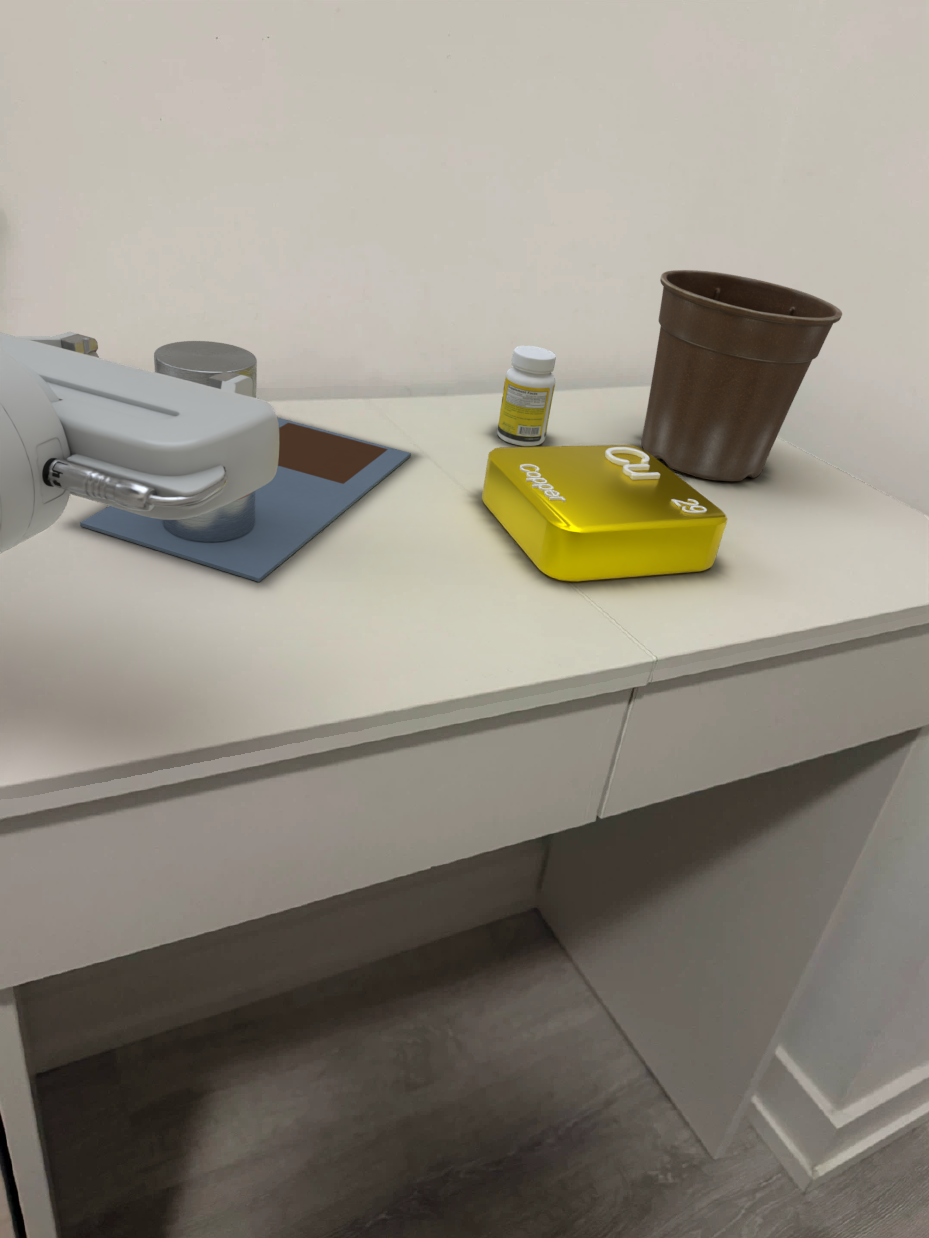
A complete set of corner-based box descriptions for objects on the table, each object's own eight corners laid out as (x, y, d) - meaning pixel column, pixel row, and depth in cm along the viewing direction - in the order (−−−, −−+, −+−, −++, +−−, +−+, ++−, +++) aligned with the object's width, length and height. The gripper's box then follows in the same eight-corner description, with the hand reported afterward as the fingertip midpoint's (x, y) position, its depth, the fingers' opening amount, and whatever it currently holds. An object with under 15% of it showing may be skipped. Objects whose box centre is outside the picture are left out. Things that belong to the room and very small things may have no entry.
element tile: (473, 494, 76) (481, 440, 73) (628, 488, 81) (640, 437, 79) (549, 586, 64) (562, 525, 62) (723, 571, 70) (741, 515, 67)
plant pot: (756, 437, 98) (806, 283, 90) (808, 501, 84) (872, 327, 76) (609, 419, 97) (645, 260, 88) (637, 482, 83) (684, 301, 74)
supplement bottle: (513, 425, 91) (527, 341, 87) (553, 440, 89) (570, 355, 85) (486, 435, 88) (500, 349, 83) (527, 451, 86) (543, 363, 81)
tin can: (142, 526, 63) (131, 356, 57) (195, 494, 69) (191, 334, 62) (223, 552, 62) (222, 379, 55) (272, 516, 67) (276, 355, 61)
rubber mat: (80, 526, 63) (79, 522, 63) (271, 418, 84) (271, 415, 84) (259, 582, 60) (259, 578, 60) (410, 456, 81) (411, 453, 81)
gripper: (172, 436, 33) (343, 351, 44) (-257, 319, 37) (-2, 269, 49) (178, 586, 36) (336, 472, 47) (-216, 461, 41) (14, 384, 52)
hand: (162, 368), depth 48 cm, fingers open, 8 cm apart
